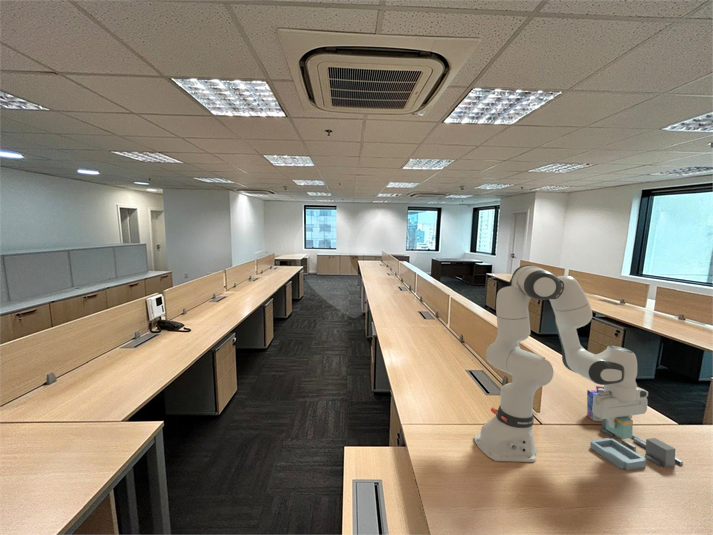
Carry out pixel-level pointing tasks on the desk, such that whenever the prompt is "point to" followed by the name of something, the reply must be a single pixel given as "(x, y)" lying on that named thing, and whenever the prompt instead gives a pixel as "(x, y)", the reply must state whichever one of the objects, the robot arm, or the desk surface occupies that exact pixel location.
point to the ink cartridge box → (590, 399)
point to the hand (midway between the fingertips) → (618, 426)
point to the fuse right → (661, 452)
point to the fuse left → (605, 427)
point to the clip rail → (641, 443)
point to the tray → (618, 454)
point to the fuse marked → (621, 427)
